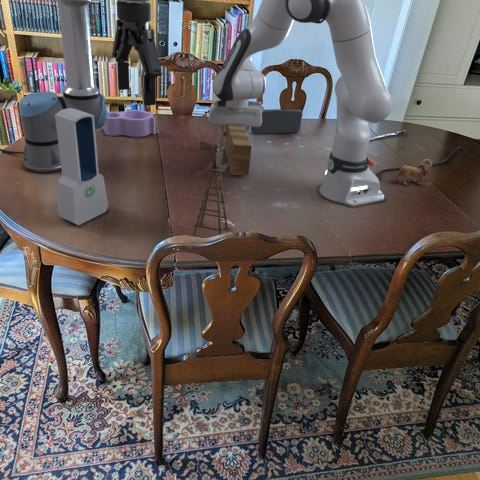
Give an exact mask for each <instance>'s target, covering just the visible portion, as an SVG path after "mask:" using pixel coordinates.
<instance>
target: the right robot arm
mask: <svg viewBox="0 0 480 480" xmlns="http://www.w3.org/2000/svg"><path fill="white" fill-rule="evenodd" d="M324 21H325V22H326V23H327V26H328V27H329V30H330V31H329V32H330V37H331V38H330V39H331V43H332V48H333V52H334V53H333V54H334V57H335V62H336V67H337V69H338V70H339V72H340V75H341V76H340V77H338V79H337V81H336V82H335V84H334V93H335V99H336V127H335V128H336V129H335V134H334V141H333V145H332V150H331V151H330V153H329V157H328V161H327V170H325V173H324V175H325V176H324V178H323V181H322V183H321V185H320V187H319V188H318V191H319V193H320V195H321V196H323V198H326V199H327V200H330V201H332V202H336V203H340V204H343V205H346V206H349V207H357V206H363V205H368V204H373V203H378V202H382V201H384V200H385V195H384V193H383V191H382V190H380V186H381V183H380V178H381V174H382V173H384V172H389V171H390V172H391V171H399V170H400V169H401V168H402V167H403V166H400V167H399V166H398V167H389V168H383V169H381V170H379V171H378V173H377V175H375V173H374V172H373V170H372V169H370V168H373V167H374V166H375V165H376V162H375V161H374V160H373V159H369V157H368V156H367V153H368V149H369V146H370V142H371V141H370V138H372V137H371V136H372V134H371V133H372V132H371V129H370V124H377V123H380V122H383V121H384V120H385V119H387V118H388V117H389V115H390V114H391V112H392V110H393V106H394V101H393V97H392V95H391V93H390V92H389V90H388V88H387V85H386V82H385V79H384V77H383V76H384V75H383V73H382V70H381V68H380V64H379V62H378V58H377V55H376V50H375V44H374V38H373V32H372V26H371V24H372V23H371V19H370V15H369V11H368V7H367V4H366V1H365V0H261V2H260V4H259V6H258V10H257V13H256V15H255V16H254V18H253V20H252V21H251V22H250V23H249V25H247V26H246V28H244V29H242V30H241V31H240V32H239V34H238V35H237V37H236V38H235V40H234V42H233V44H232V47H231V48H230V50H229V52H228V54H227V56H226V58H225V60H224V62H223V63H222V66H221V68H220V69H219V70H218V71H217V73H215V76H214V78H213V81H212V90H213V94H214V96H213V97H212V103H211V105H210V107H209V110H208V117H207V120H208V124H209V125H210V126H219V128H220V130H221V136H222V135H223V134H224V135H225V136H226V134H227V132H226V131H225V129H224V128H225V126H226V125H228V124H234V125H244V128H245V130H246V133H247V134H248V131H249V130H250V128H251V127H260V126H261V124H262V112H263V110H265V105H264V104H263V102H261V101H253V100H257V99H260V98H262V97H263V95H264V94H265V92H266V89H267V78H266V76H265V75H264V74H263V73H262V71H260V70H258V69H257V68H256V66H255V64H254V63H253V58H252V57H251V56H253V55H255V54H257V53H260V52H263V51H267V50H271V49H274V48H276V47H278V46H280V45H281V44H282V43H283V42H284V41H285V40H286V38H287V37H288V35H289V33H290V31H291V29H292V26H293V24H294V22H298V23H303V24H308V23H309V24H310V23H311V24H312V23H313V24H317V25H319V24H322V23H323V22H324ZM225 136H224V137H225ZM459 148H462V147H461V146H458V147H456V149H459ZM459 150H460V151H463V148H462V149H459ZM453 151H454V150H453ZM453 151H451V152H450V153H449V155H448V156H447V157H446V158H445V159H442V160H440V161H437V162H434V163H433V162H432V167H433V166H438V165H441V164H443V163H445V162H447V161H448V160H449V159H451V157H452V156H453V154H455V153H456V152H457V151H454V152H453ZM452 152H453V153H452ZM451 153H452V154H451ZM450 154H451V156H450ZM449 156H450V157H449ZM448 157H449V158H448ZM447 158H448V159H447ZM409 166H410V167H418V166H419V165H409ZM369 167H370V168H369Z"/></svg>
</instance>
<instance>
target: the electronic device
mask: <svg viewBox="0 0 480 480" xmlns="http://www.w3.org/2000/svg"><path fill="white" fill-rule="evenodd" d="M55 121H56V129H57V137H58V145H59V153H60V161H61V168H62V170H61V176H60V177H59V179H58V181H57V190H56V191H57V193H56V195H57V196H56V212H57V213H58V215H59V217H60V218H62V219H64V220H66V221H68V222H69V223H72V224H74V225H76V226H81V225H82V224H84V223H86V222H88V221H90V220H92V219H94V218H96V217H98V216H100V215H102V214H104V213H106V212H107V210H108V208H109V203H108V197H107V191H106V185H105V179H104V175H103V174H101V173H99V163H98V150H97V148H98V147H97V136H96V129H95V123H94V115H91V114H88V113H85V112H82V111H80V110H77V109H73V108H67V109H63V110H61V111H59V112H58V113H56V114H55Z"/></svg>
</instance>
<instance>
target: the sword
mask: <svg viewBox="0 0 480 480" xmlns="http://www.w3.org/2000/svg"><path fill="white" fill-rule="evenodd" d="M399 132H400V131H393V132H390V133H387V134H382V135H377V136H374V137H371V138H370V142H372V141H373V140H377V139H382V138H387V137H391V136H392V137H393V136H398V135H401V134H402V133H399ZM406 133H408V132H404V133H403V134H406Z"/></svg>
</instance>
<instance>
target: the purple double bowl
mask: <svg viewBox="0 0 480 480" xmlns="http://www.w3.org/2000/svg"><path fill="white" fill-rule="evenodd" d="M103 131H104V135H107V136H112V137H114V136H127V137H133V138H140V137H141V138H143V137H147V136H149V135H156V116H154V115H153V111H146V110H142V109H141V110H140V109H128V110H124V111H107V119H106V122H105V124H104V126H103Z"/></svg>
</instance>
